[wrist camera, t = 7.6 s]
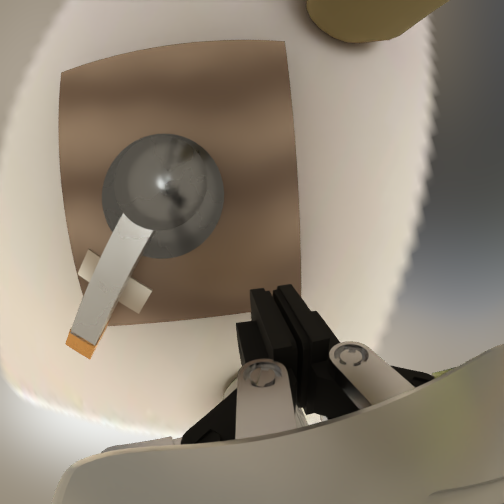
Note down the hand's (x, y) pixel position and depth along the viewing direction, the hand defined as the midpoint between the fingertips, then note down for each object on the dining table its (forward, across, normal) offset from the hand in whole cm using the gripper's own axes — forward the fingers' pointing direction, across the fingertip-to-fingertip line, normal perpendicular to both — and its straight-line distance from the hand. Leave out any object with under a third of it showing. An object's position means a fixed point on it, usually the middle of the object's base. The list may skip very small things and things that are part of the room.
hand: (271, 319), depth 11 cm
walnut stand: (+8, +4, -6) cm, 11 cm away
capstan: (+7, +7, -2) cm, 10 cm away
